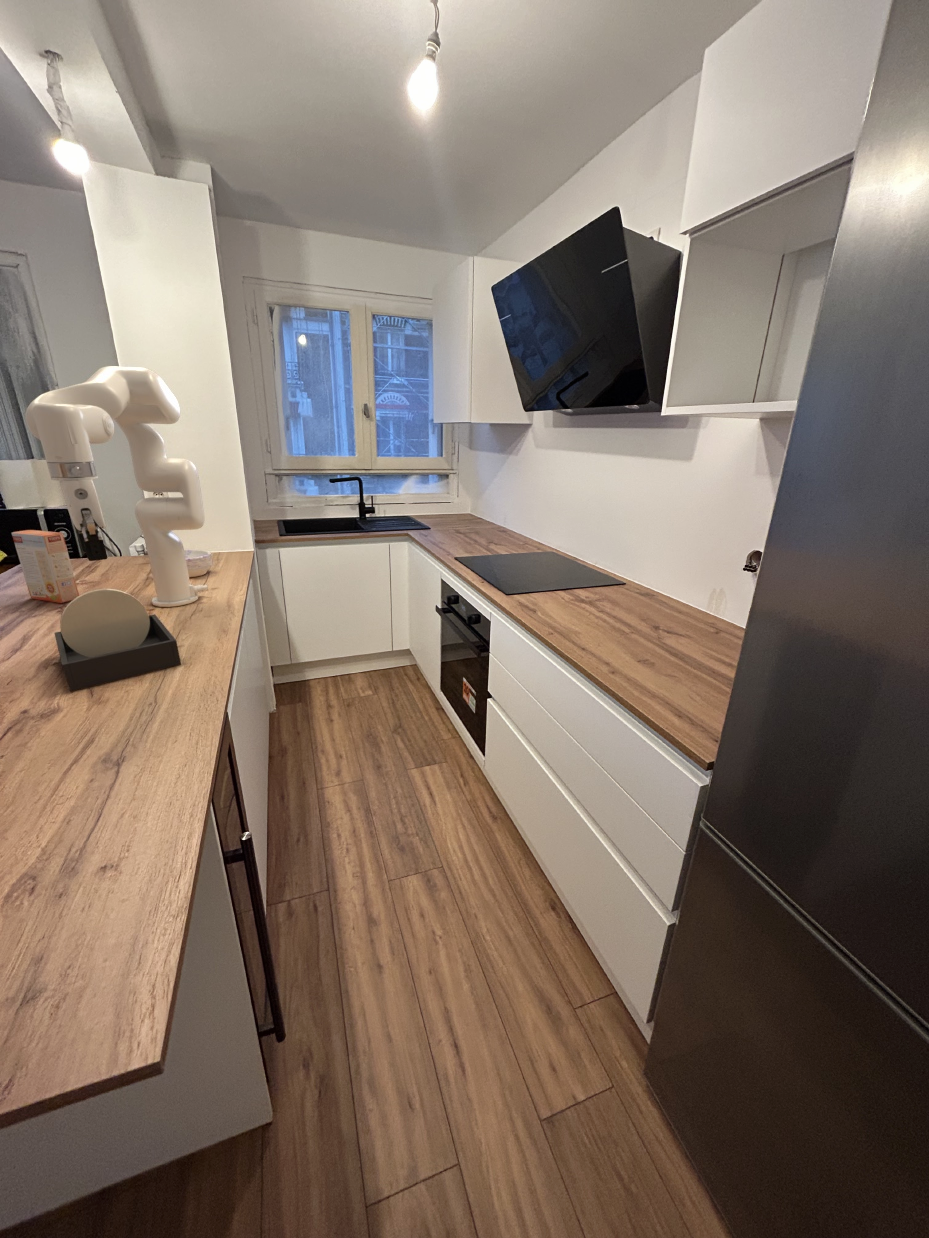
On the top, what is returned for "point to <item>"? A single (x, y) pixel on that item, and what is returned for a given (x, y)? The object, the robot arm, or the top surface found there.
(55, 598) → the cracker box
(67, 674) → the sink basin
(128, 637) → the plate
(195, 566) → the paper bowls
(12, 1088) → the top surface
